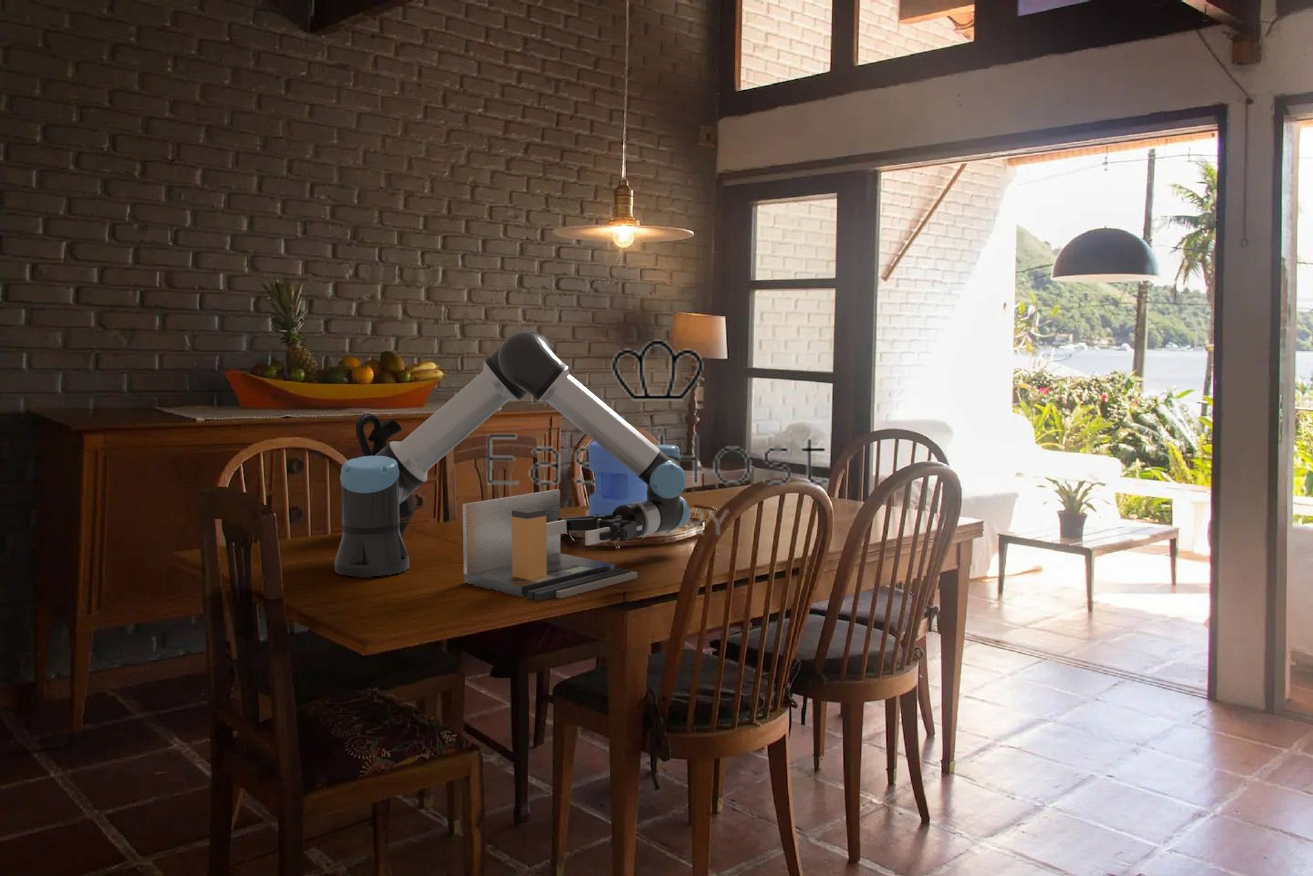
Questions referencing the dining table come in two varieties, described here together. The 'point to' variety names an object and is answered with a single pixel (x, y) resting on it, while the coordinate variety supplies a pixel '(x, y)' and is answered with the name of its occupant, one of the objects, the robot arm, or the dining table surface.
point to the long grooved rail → (582, 584)
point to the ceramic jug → (379, 438)
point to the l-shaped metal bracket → (493, 546)
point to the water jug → (612, 482)
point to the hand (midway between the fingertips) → (564, 534)
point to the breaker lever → (529, 543)
